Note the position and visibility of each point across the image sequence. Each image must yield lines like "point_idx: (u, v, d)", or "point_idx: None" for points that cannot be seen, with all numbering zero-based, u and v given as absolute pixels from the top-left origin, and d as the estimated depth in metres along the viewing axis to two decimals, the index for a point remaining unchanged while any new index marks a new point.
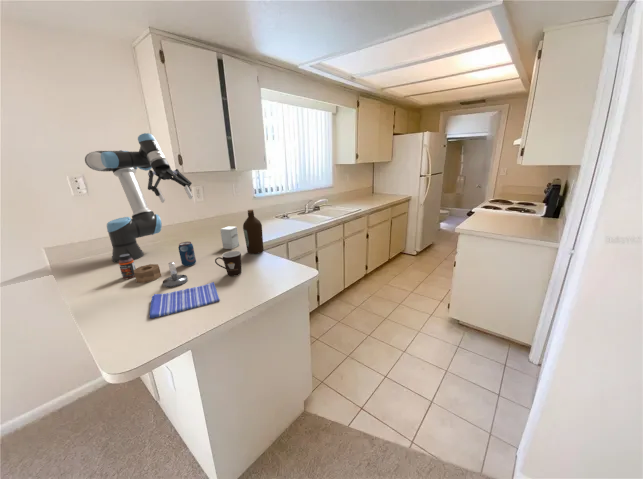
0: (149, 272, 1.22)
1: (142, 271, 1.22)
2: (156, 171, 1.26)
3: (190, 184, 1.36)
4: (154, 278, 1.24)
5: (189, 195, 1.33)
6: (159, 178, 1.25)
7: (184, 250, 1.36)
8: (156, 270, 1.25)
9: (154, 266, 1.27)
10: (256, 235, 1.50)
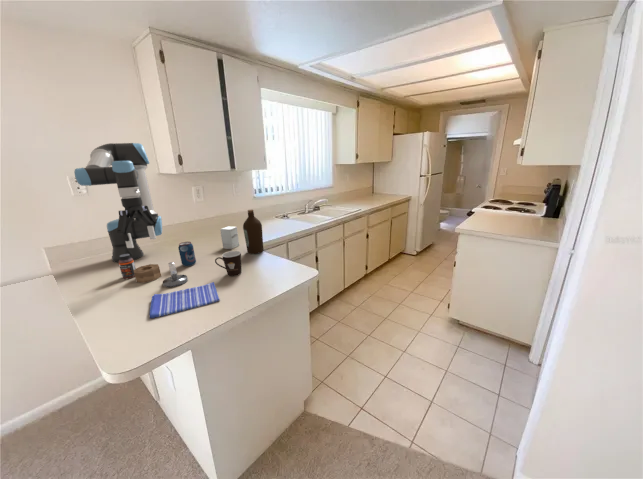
0: (149, 272, 1.22)
1: (142, 271, 1.22)
2: (129, 211, 1.14)
3: None
4: (154, 278, 1.24)
5: (151, 236, 1.28)
6: (131, 220, 1.15)
7: (184, 250, 1.36)
8: (156, 270, 1.25)
9: (154, 266, 1.27)
10: (256, 235, 1.50)
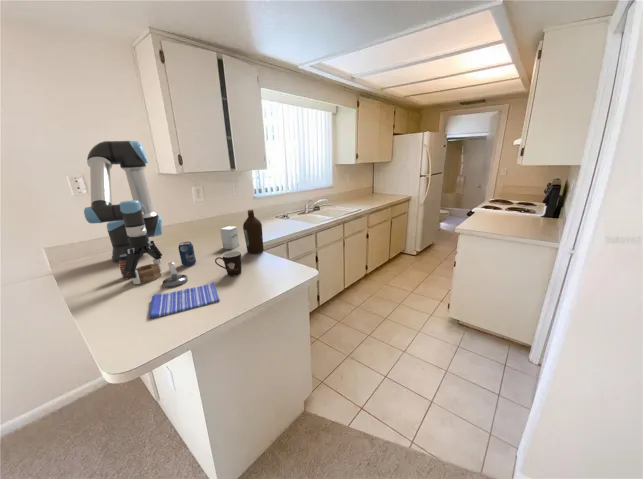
0: (149, 272, 1.22)
1: (142, 271, 1.22)
2: (136, 249, 1.19)
3: (160, 256, 1.33)
4: (154, 278, 1.24)
5: None
6: (138, 257, 1.19)
7: (184, 250, 1.36)
8: (156, 270, 1.25)
9: (154, 266, 1.27)
10: (256, 235, 1.50)
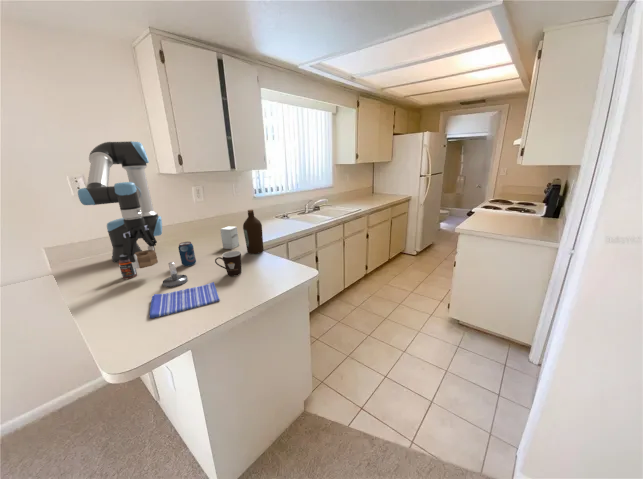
0: (145, 258, 1.21)
1: (138, 256, 1.20)
2: (131, 232, 1.16)
3: None
4: (151, 264, 1.23)
5: None
6: (135, 241, 1.18)
7: (184, 250, 1.36)
8: (153, 255, 1.24)
9: (151, 252, 1.25)
10: (256, 235, 1.50)
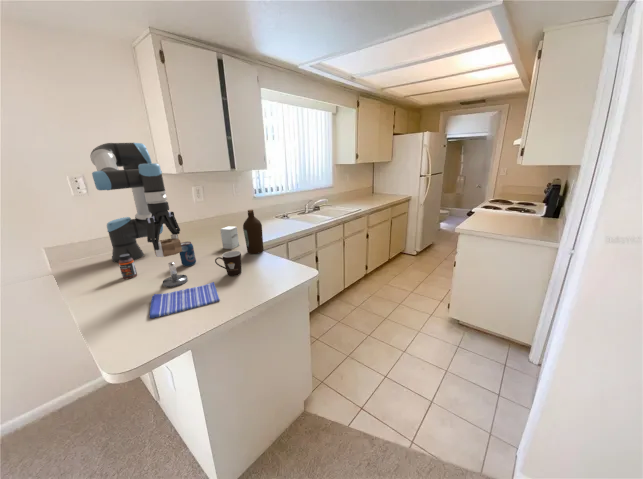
0: (170, 245, 1.12)
1: (162, 244, 1.11)
2: (156, 217, 1.08)
3: (178, 231, 1.22)
4: (175, 252, 1.14)
5: None
6: (159, 227, 1.09)
7: (184, 250, 1.36)
8: (177, 243, 1.15)
9: (175, 240, 1.17)
10: (256, 235, 1.50)
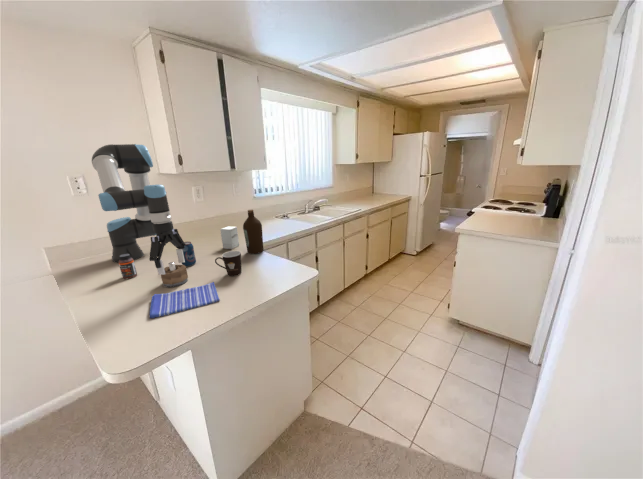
0: (177, 273, 1.16)
1: (169, 272, 1.16)
2: (160, 236, 1.10)
3: None
4: (181, 279, 1.18)
5: (180, 259, 1.24)
6: (163, 246, 1.11)
7: (184, 250, 1.36)
8: (183, 270, 1.19)
9: (181, 267, 1.21)
10: (256, 235, 1.50)
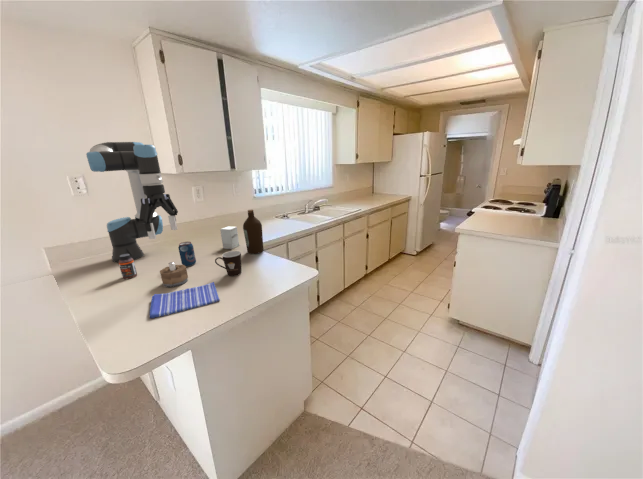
0: (177, 273, 1.16)
1: (169, 272, 1.16)
2: (151, 199, 1.07)
3: None
4: (181, 279, 1.18)
5: (173, 227, 1.21)
6: (153, 209, 1.08)
7: (184, 250, 1.36)
8: (183, 270, 1.19)
9: (181, 267, 1.21)
10: (256, 235, 1.50)
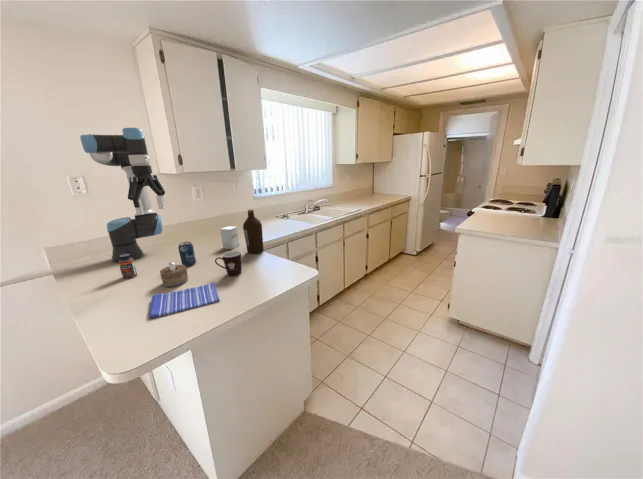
0: (177, 273, 1.16)
1: (169, 272, 1.16)
2: (139, 178, 1.17)
3: (163, 193, 1.32)
4: (181, 279, 1.18)
5: (160, 206, 1.31)
6: (141, 187, 1.18)
7: (184, 250, 1.36)
8: (183, 270, 1.19)
9: (181, 267, 1.21)
10: (256, 235, 1.50)
